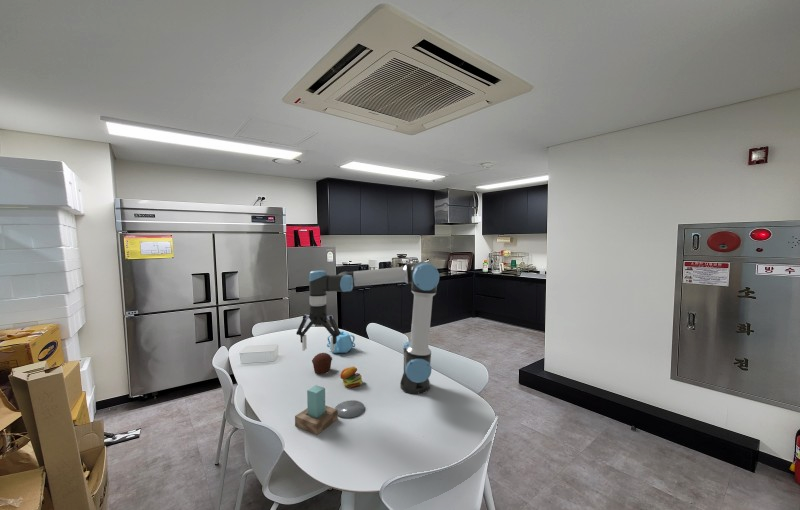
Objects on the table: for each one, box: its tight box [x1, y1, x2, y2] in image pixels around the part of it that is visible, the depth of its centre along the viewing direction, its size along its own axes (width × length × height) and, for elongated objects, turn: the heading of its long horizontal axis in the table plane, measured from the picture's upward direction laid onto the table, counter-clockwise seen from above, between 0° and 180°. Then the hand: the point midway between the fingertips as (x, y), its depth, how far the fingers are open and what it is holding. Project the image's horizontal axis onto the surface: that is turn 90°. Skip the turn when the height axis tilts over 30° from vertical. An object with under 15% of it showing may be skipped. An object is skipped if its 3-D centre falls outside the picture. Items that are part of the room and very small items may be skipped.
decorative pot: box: [326, 330, 356, 354], centre depth 209 cm, size 16×16×14 cm
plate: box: [334, 399, 365, 419], centre depth 135 cm, size 13×13×1 cm
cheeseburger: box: [339, 366, 363, 388], centre depth 160 cm, size 10×11×10 cm
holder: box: [294, 405, 339, 435], centre depth 126 cm, size 12×12×4 cm
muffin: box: [311, 352, 333, 375], centre depth 176 cm, size 12×11×10 cm
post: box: [306, 384, 326, 419], centre depth 126 cm, size 5×5×14 cm
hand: (318, 350), depth 140 cm, fingers open, 13 cm apart
